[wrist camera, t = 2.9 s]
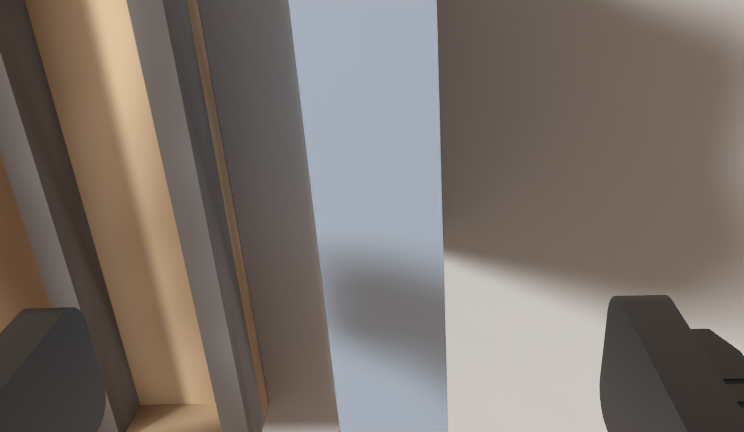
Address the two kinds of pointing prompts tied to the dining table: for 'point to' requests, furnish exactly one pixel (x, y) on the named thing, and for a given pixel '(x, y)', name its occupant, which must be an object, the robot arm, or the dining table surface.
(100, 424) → the robot arm
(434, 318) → the door panel
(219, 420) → the cabinet
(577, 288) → the dining table surface
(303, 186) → the dining table surface
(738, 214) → the dining table surface
